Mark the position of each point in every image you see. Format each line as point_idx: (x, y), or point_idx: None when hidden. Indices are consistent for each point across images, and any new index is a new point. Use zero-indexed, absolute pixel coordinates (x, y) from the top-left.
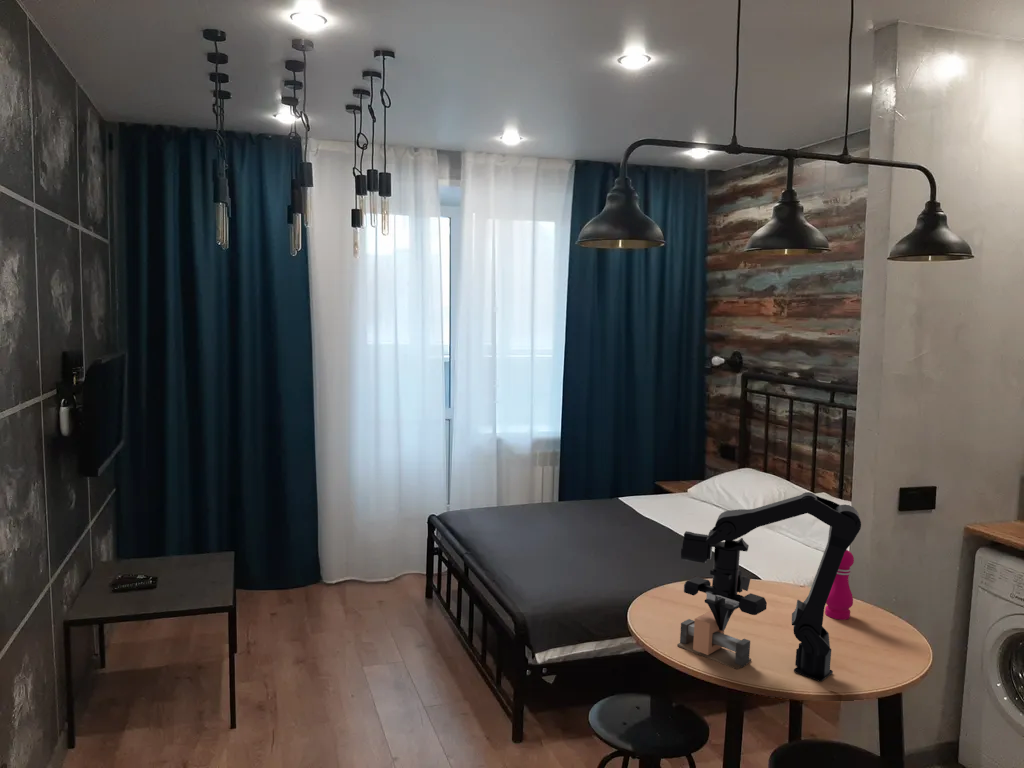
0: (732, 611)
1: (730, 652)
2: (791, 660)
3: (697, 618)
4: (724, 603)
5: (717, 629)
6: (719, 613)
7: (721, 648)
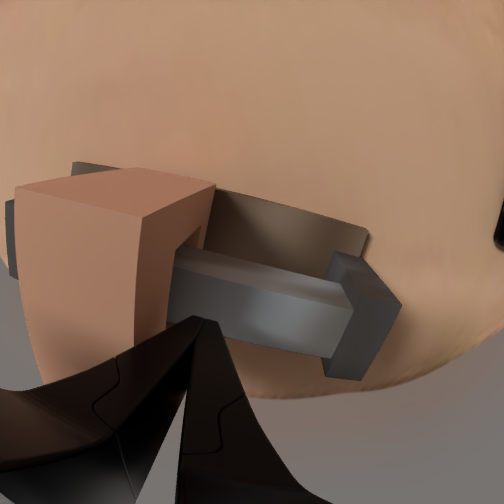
0: (270, 473)
1: (266, 216)
2: (483, 139)
3: (49, 381)
4: (83, 475)
5: (166, 302)
6: (146, 462)
7: (213, 197)
